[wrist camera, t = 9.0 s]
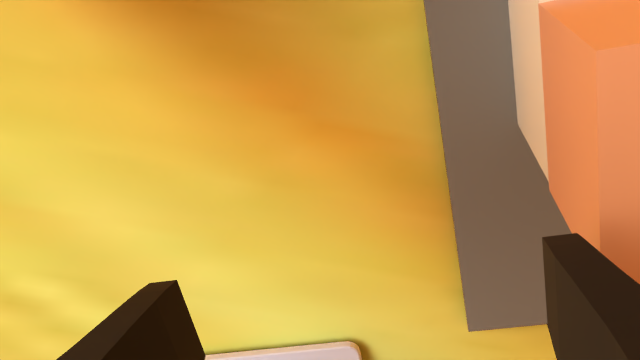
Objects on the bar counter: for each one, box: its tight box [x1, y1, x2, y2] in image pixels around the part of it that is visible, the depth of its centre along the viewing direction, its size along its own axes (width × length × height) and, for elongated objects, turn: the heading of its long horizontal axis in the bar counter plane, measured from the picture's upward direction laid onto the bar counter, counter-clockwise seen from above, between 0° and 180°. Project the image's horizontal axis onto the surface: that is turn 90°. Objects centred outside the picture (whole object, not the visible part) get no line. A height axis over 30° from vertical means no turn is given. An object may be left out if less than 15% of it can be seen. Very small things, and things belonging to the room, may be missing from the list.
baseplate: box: [424, 0, 572, 332], centre depth 21 cm, size 14×9×1 cm, turn 12°
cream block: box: [508, 0, 554, 182], centre depth 17 cm, size 5×4×4 cm
